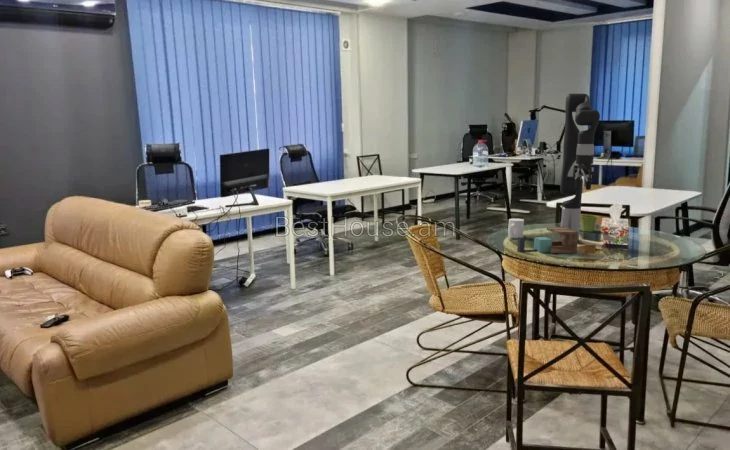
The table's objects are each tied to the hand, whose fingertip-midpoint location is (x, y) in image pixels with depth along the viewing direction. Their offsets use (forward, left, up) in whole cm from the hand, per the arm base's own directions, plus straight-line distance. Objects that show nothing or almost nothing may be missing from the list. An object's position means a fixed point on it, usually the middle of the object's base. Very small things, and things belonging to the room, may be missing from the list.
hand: (582, 188), depth 262 cm
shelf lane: (-5, -9, -30) cm, 32 cm away
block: (-5, -21, -30) cm, 37 cm away
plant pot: (-46, +34, -30) cm, 65 cm away
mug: (-39, -14, -30) cm, 51 cm away
